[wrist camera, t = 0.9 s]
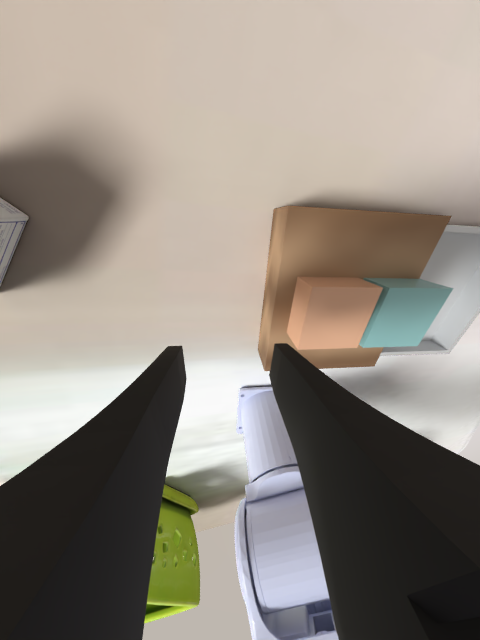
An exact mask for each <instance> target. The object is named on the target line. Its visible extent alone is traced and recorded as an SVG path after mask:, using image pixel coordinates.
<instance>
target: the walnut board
mask: <svg viewBox="0 0 480 640" xmlns="http://www.w3.org/2000/svg"><path fill="white" fill-rule="evenodd" d="M450 218H451V216H443V215H427V214H411V213H396V212H380V211H364V210H348V209H333V208H317V207H301V206H285V207H281V208H276V209H274V212H273V221H272V230H271V239H270V247H269V256H268V265H267V274H266V283H265V291H264V300H263V309H262V318H261V327H260V336H259V344H258V351H259V355H260V358H261V361H262V364H263V367H264V371H270V368H271V362H272V356H273V350H274V344H275V343H287V344H289V345H290V346H291V347H292V348H294V349H295V350H296V351H297V352H298V353H300V354H301V355H302V356H303V357H304V358H306V359H307V360H308V361H309V362H310V363H312V364H313V365H314V366H315V367H317V368H318V369H323V368H346V367H369V366H375V364H376V362H377V360H378V358H379V356H380V354H381V352H382V350H383V348H384V347H372V348H363V347H361V346H360V345H358V347H357V348H340V349H307V350H297V348H296V347H295V345H294V343H293V342H292V340H291V339H290V337H289V335H288V334H287V328H288V323H289V318H290V313H291V308H292V303H293V298H294V292H295V287H296V282H297V277H348V278H360V279H364V278H407V279H419V278H420V276H421V274H422V272H423V271H424V269H425V267H426V265H427V263H428V261H429V259H430V257H431V255H432V253H433V251H434V249H435V247H436V245H437V243H438V241H439V239H440V238H441V236H442V234H443V232H444V230H445V228H446V226H447V224H448V222H449V220H450Z"/></svg>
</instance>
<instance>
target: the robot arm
mask: <svg viewBox="0 0 480 640" xmlns="http://www.w3.org/2000/svg"><path fill="white" fill-rule="evenodd" d="M269 376H270V380H271V385H272V387H254V388H241V389H240V390H239V395H238V412H237V429H236V431H237V433H238V434H241V433H243V434H244V443H245V451H246V459H247V468H248V476H249V484H247V485H245V490H246V498H243V499H241V501H240V504H239V507H238V509H237V512H236V517H235V552H236V562H237V570H238V577H239V582H240V587H241V591H242V595H243V598H244V601H245V603H246V608H247V613H248V618H249V623H250V629H251V635H252V640H480V466H479V465H477V464H476V463H473V462H471V461H470V460H468V459H466V458H464V457H462V456H460V455H458V454H456V453H454V452H452V451H450V450H448V449H446V448H444V447H442V446H440V445H438V444H436V443H434V442H432V441H431V440H429V439H427V438H425V437H423V436H421V435H419V434H417V433H416V432H414V431H412V430H410V429H409V428H407V427H405V426H403V425H402V424H400V423H398V422H396V421H395V420H393V419H391V418H389V417H388V416H386V415H384V414H383V413H381V412H379V411H378V410H376V409H374V408H373V407H371V406H370V405H368V404H367V403H365V402H364V401H362V400H360V399H359V398H357V397H356V396H354V395H353V394H351V393H350V392H349V391H347V390H346V389H344V388H343V387H342V386H340V385H339V384H337V383H336V382H335V381H333V380H332V379H331V378H329V377H328V376H327V375H325V374H324V373H323V372H322V371H320V370H319V369H318V368H317V367H315V366H314V365H313V364H312V363H310V362H309V361H308V360H307V359H306V358H304V357H303V356H302V355H301V354H300V353H298V352H297V351H296V350H295V349H294V348H292V347H291V346H290V345H289V344H287V343H275V344H274V350H273V356H272V362H271V368H270V374H269ZM185 385H186V372H185V365H184V357H183V349H182V346H168V347H167V348H166V349H165V350H164V351H163V352H162V353H161V354H160V355H159V356H158V357H157V358H156V359H155V361H154V362H153V363H152V364H151V365H150V366H149V367H148V368H147V369H146V370H145V371H144V372H143V373H142V374H141V375H140V376H139V377H138V378H137V379H136V380H135V381H134V382H133V383H132V384H131V385H130V386H129V387H128V388H127V389H125V390H124V391H123V392H122V393H121V394H120V395H119V396H118V397H117V398H116V399H115V400H114V401H112V402H111V403H110V404H109V405H108V406H107V407H106V408H104V409H103V410H102V411H101V412H100V413H99V414H97V415H96V416H95V417H94V418H92V419H91V420H90V421H89V422H87V423H86V424H85V425H84V426H82V427H81V428H80V429H79V430H77V431H76V432H75V433H74V434H72V435H71V436H70V437H68V438H67V439H65V440H64V441H63V442H61V443H60V444H59V445H57V446H56V447H55V448H53V449H52V450H51V451H49V452H48V453H46V454H45V455H44V456H42V457H41V458H40V459H38V460H37V461H36V462H34V463H33V464H31V465H30V466H29V467H27V468H26V469H24V470H23V471H22V472H20V473H19V474H17V475H16V476H14V477H13V478H11V479H10V480H9V481H7V482H6V483H4V484H3V485H1V486H0V640H142V636H143V628H144V621H145V613H146V605H147V598H148V590H149V583H150V576H151V569H152V562H153V555H154V548H155V541H156V534H157V528H158V521H159V515H160V508H161V502H162V495H163V489H164V483H165V477H166V471H167V466H168V461H169V457H170V452H171V448H172V444H173V440H174V436H175V432H176V428H177V424H178V420H179V416H180V412H181V408H182V404H183V400H184V393H185ZM242 394H243V395H242Z"/></svg>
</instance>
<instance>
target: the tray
mask: <svg viewBox="0 0 480 640" xmlns="http://www.w3.org/2000/svg"><path fill="white" fill-rule="evenodd" d="M419 279H422V280H426V281H429V282H433V283H436V284H440V285H443V286H447V287H450V288H454V289H453V290H452V292H451V293H450V295H449V297H448V298H447V300H446V301H445V303H444V305H443V306H442V308H441V309H440V311H439V313H438V314H437V316H436V317H435V319H434V321H433V322H432V324H431V326H430V327H429V329H428V330H427V332H426V334H425V335H424V337H423V338H422V340H421V342H420V343H419V345H418V346H404V347H384V348H383V350H382V352H381V354H380V356H397V355H424V354H449V353H450V352H451V351H452V349H453V348H454V347H455V345H456V344H457V342H458V341H459V340H460V338H461V337H462V336H463V334H464V333H465V332H466V330H467V329H468V328H469V326H470V325H471V324H472V322H473V321H474V319H475V318H476V317H477V315H478V314H479V313H480V226H462V225H447V226H446V228H445V230H444V232H443V234H442V236H441V238H440V239H439V241H438V243H437V245H436V247H435V249H434V251H433V253H432V255H431V257H430V259H429V261H428V263H427V265H426V267H425V269H424V271H423V272H422V274H421V276H420V278H419Z"/></svg>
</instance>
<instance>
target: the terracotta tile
mask: <svg viewBox="0 0 480 640" xmlns="http://www.w3.org/2000/svg"><path fill="white" fill-rule="evenodd" d="M382 289H383V287H380V286H378V285H375V284H373V283H370V282H368V281H365V280H363V279H360V278H348V277H297V282H296V287H295V292H294V298H293V303H292V308H291V313H290V318H289V323H288V328H287V334H288V335H289V337H290V339H291V340H292V342H293V343H294V345H295V347H296V348H297V350H307V349H340V348H357V347H358V345H359V343H360V340H361V338H362V336H363V333H364V331H365V329H366V326H367V324H368V322H369V319H370V317H371V315H372V312H373V310H374V308H375V305H376V303H377V301H378V299H379V296H380V294H381V292H382Z"/></svg>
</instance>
